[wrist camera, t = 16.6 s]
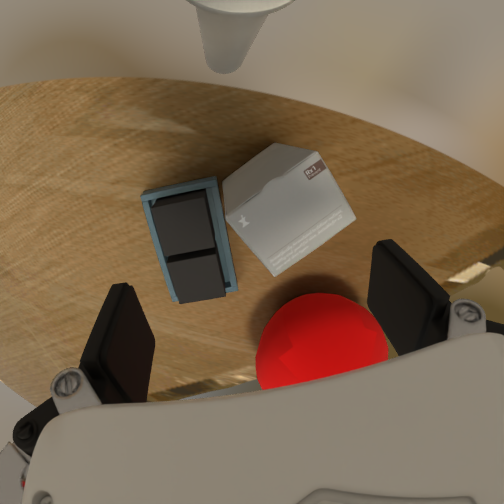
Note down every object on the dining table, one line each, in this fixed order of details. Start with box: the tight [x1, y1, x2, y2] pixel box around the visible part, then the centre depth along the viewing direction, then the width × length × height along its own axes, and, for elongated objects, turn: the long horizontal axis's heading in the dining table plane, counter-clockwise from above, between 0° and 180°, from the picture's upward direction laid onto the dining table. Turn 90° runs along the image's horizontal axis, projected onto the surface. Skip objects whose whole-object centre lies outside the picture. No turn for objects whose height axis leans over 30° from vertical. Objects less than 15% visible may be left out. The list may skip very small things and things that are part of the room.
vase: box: [256, 293, 388, 390], centre depth 33 cm, size 18×18×30 cm
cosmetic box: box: [222, 143, 356, 277], centre depth 28 cm, size 8×7×16 cm
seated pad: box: [166, 240, 226, 304], centre depth 37 cm, size 6×6×4 cm
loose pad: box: [151, 188, 215, 256], centre depth 34 cm, size 6×6×4 cm
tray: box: [140, 176, 238, 302], centre depth 37 cm, size 15×9×2 cm, turn 8°
